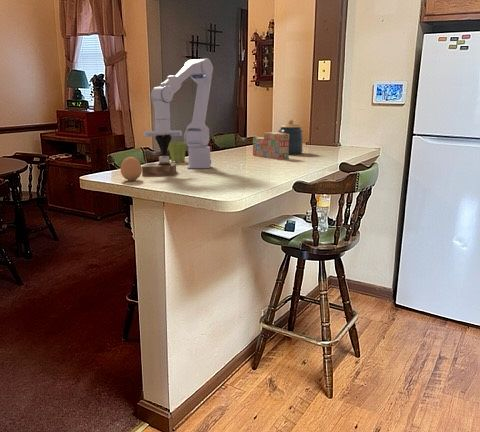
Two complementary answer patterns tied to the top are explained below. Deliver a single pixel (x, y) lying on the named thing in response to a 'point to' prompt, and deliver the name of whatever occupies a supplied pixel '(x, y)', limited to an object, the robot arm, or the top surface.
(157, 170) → the socket block
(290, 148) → the canister
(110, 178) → the top surface
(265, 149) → the stack of blocks
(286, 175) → the top surface
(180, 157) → the plant pot
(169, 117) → the robot arm
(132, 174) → the egg
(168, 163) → the peg
